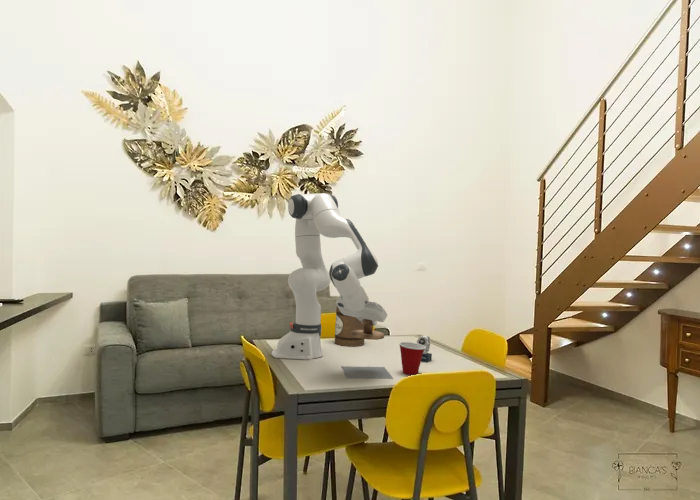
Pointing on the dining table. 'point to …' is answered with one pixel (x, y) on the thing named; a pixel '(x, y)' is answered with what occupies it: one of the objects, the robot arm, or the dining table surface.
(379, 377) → the rubber mat
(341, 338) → the wooden container
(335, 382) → the dining table surface
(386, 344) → the dining table surface
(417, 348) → the plastic cup
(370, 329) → the walnut lid
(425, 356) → the grey black curved piece
